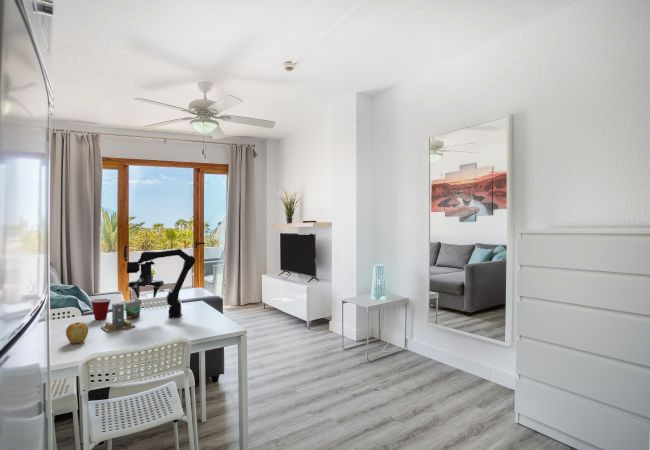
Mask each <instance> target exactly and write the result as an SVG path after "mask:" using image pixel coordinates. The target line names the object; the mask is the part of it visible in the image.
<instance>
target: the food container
mask: <svg viewBox="0 0 650 450" xmlns="http://www.w3.org/2000/svg"><path fill="white" fill-rule="evenodd" d="M142 303H143V302H142V300H141V299H140V298H135V299H134V301H130V302H126V303H125V304H124V307H125V313H126V314H125V316H126V320H134V319H135V320H136V319H138V318H140V317H141V315H140V314H141V305H142Z"/></svg>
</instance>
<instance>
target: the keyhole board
mask: <svg viewBox="0 0 650 450" xmlns="http://www.w3.org/2000/svg"><path fill="white" fill-rule="evenodd" d="M133 328H136V325H134V324H133V323H132V322H131V321H129V320H128V319H127V318H126V319H125V318H124V326H123V327H118V328H115V325H114V324H112V322H110V321H105V322H104V325H103V326H100V329H102V330H103V331H104V332H106V334H107V333H114V332H118V331H123V330H129V329H133Z"/></svg>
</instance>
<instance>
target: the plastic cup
mask: <svg viewBox="0 0 650 450" xmlns="http://www.w3.org/2000/svg"><path fill="white" fill-rule="evenodd" d="M111 301H112V299H111V298H110V299H109V298H96V299H91V300H90V303H91V307H92V312H93V316H94V320H95V321H98V322H99V321H104V320H107V318H108V313H109V306H110V303H111Z"/></svg>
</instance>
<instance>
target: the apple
mask: <svg viewBox="0 0 650 450" xmlns="http://www.w3.org/2000/svg"><path fill="white" fill-rule="evenodd" d="M88 333H89V327H88V325H87V324H86V323H85V322H77V321H76V322H73V323H70V324H69V325H68V326H67V327H66V330H65V336H66V338H67V340H68V341H69V343H70V344H80V343H83V342H84V341H86V338H87V336H88V335H89V334H88Z"/></svg>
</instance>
